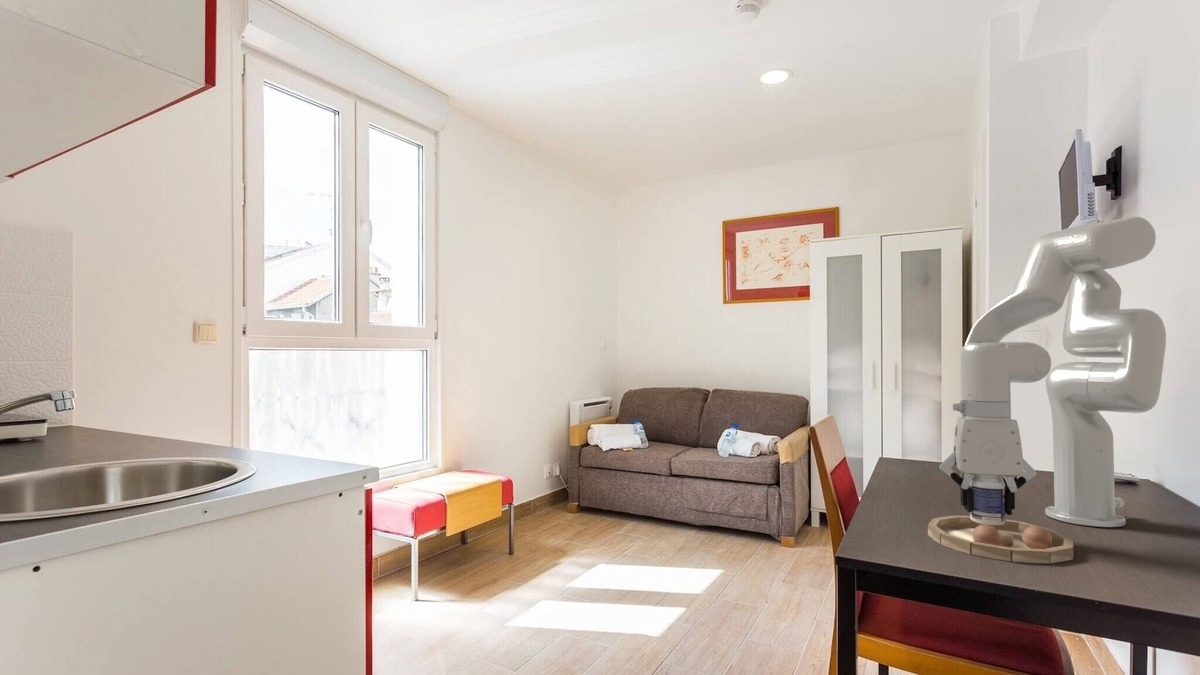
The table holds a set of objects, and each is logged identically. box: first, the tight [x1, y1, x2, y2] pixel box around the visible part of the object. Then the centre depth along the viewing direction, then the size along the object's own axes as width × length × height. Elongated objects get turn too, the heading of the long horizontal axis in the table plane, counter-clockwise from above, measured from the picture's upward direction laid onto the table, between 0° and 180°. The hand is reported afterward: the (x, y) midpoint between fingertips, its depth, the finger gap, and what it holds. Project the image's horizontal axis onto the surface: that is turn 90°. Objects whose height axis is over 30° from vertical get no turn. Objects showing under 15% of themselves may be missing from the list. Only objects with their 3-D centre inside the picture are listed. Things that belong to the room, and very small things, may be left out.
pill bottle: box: [969, 475, 1006, 525], centre depth 108 cm, size 5×5×10 cm
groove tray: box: [927, 515, 1074, 564], centre depth 103 cm, size 20×20×3 cm
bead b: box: [1022, 524, 1052, 549], centre depth 99 cm, size 4×4×4 cm
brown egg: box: [972, 524, 1001, 546], centre depth 99 cm, size 4×4×4 cm
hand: (987, 510), depth 108 cm, fingers closed on pill bottle, 5 cm apart
